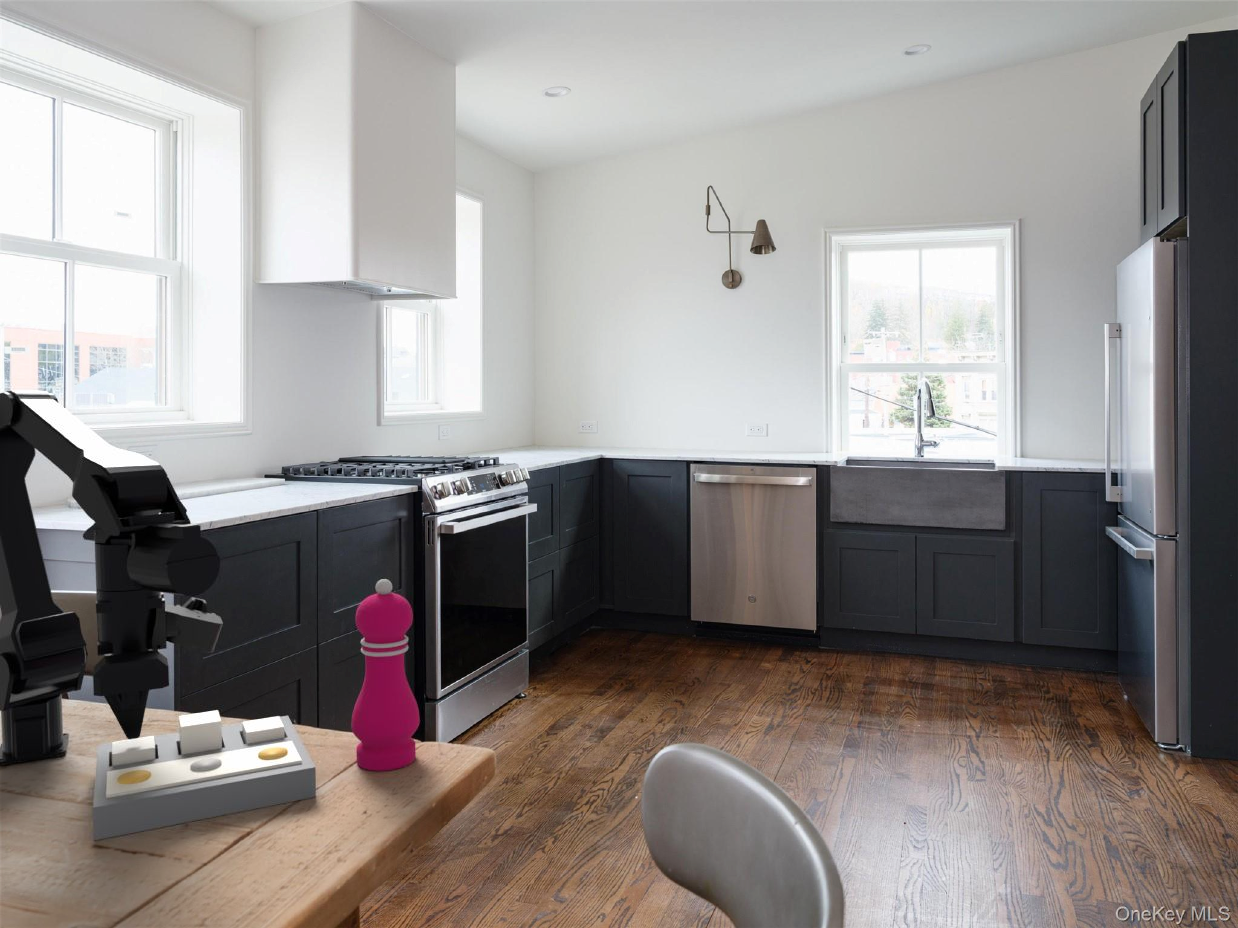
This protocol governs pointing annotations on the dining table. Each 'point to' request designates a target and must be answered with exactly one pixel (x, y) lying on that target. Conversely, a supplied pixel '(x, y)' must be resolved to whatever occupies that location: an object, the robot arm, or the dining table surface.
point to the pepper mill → (385, 684)
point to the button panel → (199, 781)
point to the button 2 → (262, 730)
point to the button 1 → (133, 750)
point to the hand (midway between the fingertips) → (133, 737)
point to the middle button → (200, 732)
